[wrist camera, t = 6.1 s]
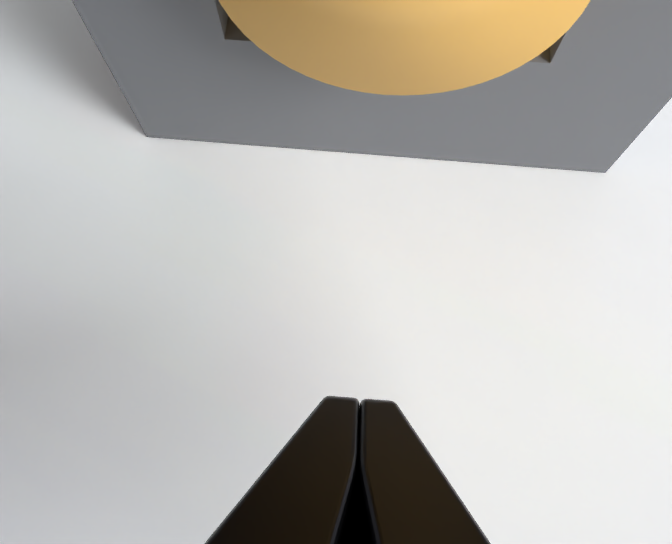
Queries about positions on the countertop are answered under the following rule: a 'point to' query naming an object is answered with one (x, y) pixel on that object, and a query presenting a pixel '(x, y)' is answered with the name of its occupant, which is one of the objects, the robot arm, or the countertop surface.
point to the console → (391, 110)
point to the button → (403, 39)
